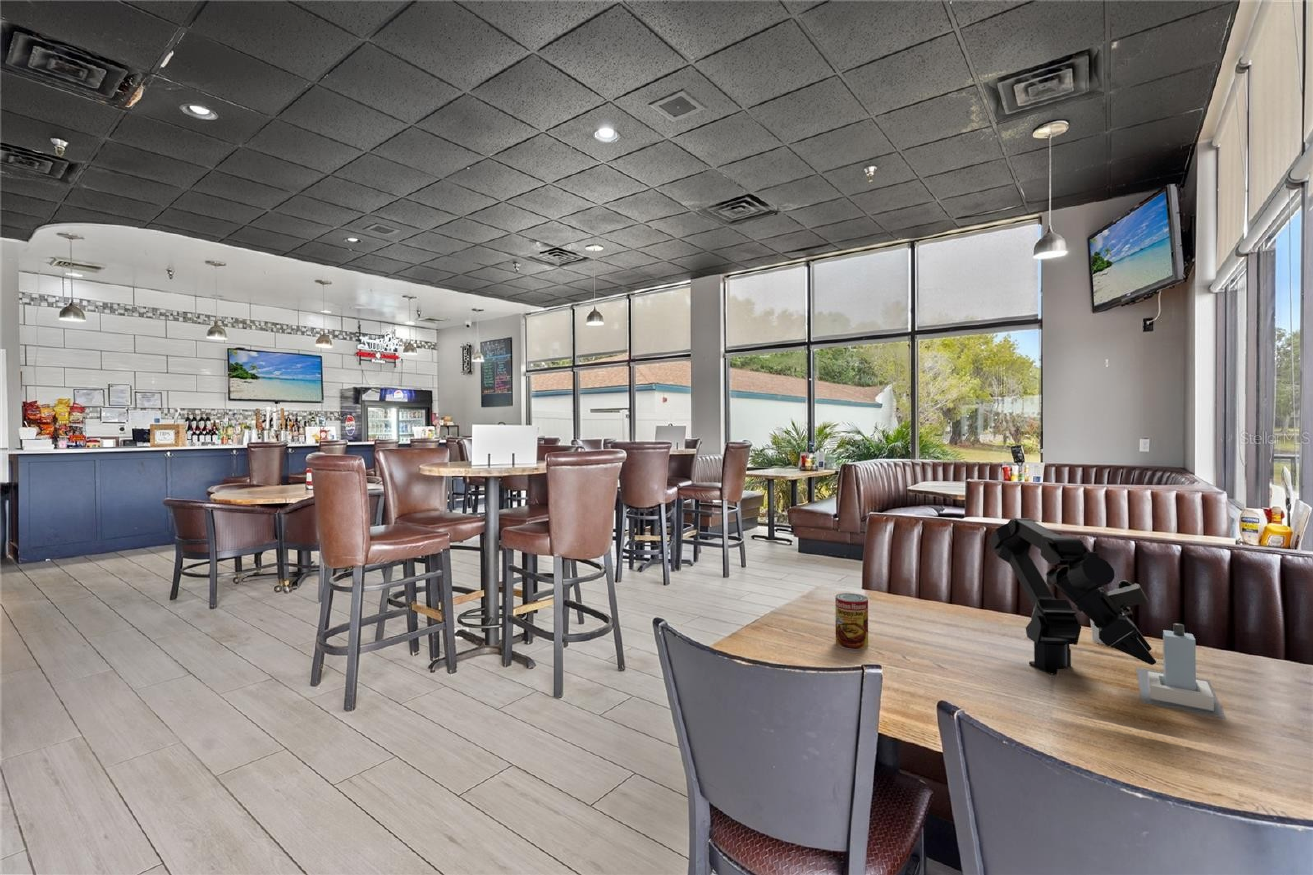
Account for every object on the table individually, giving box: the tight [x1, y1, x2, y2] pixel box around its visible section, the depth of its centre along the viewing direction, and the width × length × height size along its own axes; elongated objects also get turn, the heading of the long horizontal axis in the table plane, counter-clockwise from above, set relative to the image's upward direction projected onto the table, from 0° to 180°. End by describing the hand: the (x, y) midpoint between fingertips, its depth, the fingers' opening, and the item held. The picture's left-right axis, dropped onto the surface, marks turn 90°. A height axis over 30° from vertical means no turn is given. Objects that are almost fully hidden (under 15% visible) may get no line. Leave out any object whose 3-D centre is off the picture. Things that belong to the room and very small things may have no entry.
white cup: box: [1089, 618, 1106, 646], centre depth 154 cm, size 7×7×7 cm
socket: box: [1148, 671, 1214, 714], centre depth 117 cm, size 9×9×3 cm
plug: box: [1162, 622, 1197, 691], centre depth 117 cm, size 4×4×14 cm
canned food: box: [835, 592, 869, 651], centre depth 152 cm, size 8×8×12 cm
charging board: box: [1135, 667, 1227, 720], centre depth 121 cm, size 22×12×1 cm, turn 143°
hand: (1152, 656), depth 120 cm, fingers open, 9 cm apart
